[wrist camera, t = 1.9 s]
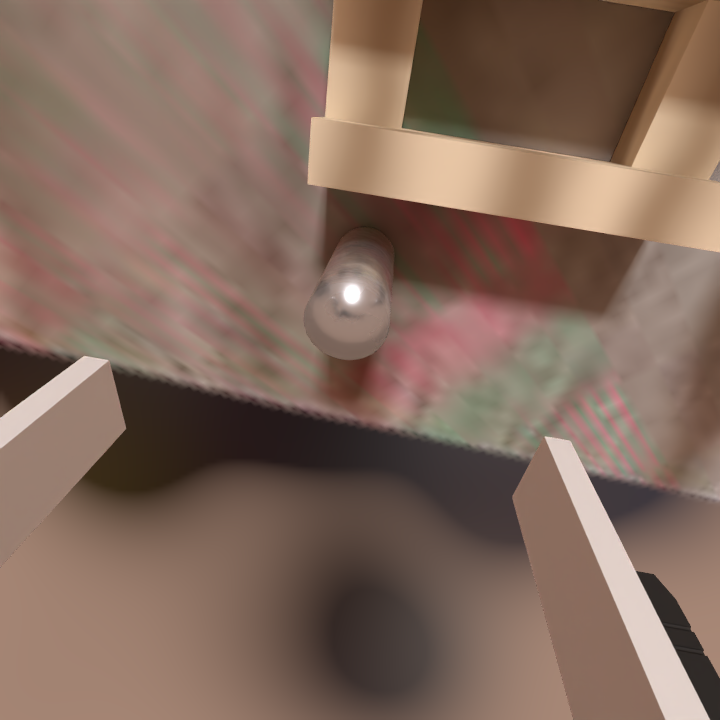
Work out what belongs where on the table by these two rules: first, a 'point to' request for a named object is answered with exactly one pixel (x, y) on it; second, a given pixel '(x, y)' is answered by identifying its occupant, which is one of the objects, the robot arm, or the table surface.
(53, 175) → the table surface
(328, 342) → the pin
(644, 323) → the table surface
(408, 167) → the slot block
